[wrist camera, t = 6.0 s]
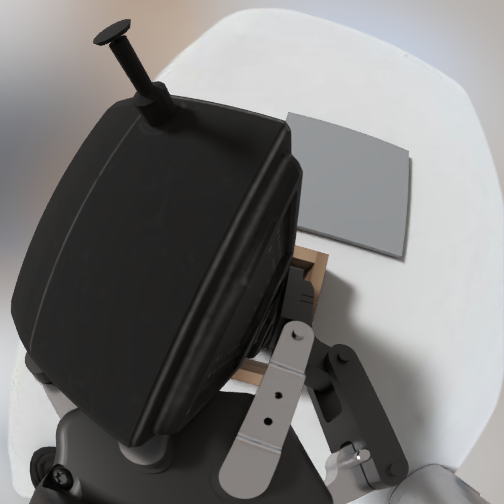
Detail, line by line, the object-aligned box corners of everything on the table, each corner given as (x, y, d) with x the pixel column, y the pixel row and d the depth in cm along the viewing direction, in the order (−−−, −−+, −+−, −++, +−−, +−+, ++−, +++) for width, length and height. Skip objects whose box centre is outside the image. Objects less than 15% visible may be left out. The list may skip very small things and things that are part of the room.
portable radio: (263, 357, 25) (126, 587, 1) (208, 330, 26) (-70, 347, 2) (298, 284, 26) (398, 35, 2) (242, 259, 27) (79, 24, 3)
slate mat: (405, 154, 29) (408, 151, 28) (397, 258, 27) (401, 256, 26) (287, 116, 31) (288, 112, 30) (258, 218, 28) (257, 214, 27)
